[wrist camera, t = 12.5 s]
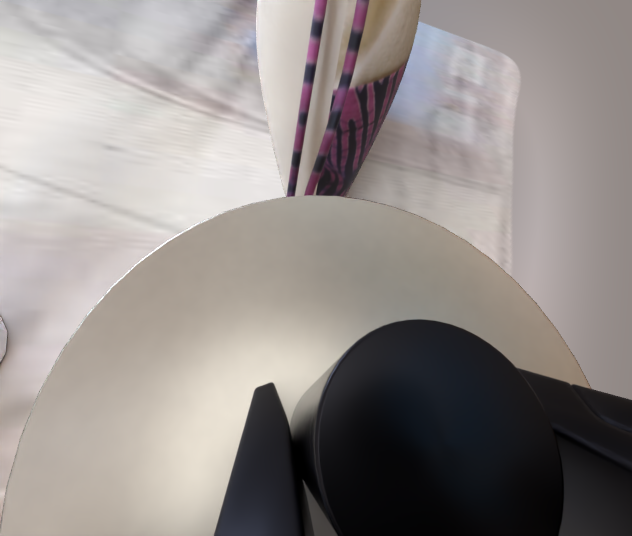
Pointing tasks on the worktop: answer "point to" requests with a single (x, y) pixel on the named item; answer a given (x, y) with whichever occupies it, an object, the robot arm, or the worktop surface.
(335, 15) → the pouch
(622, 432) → the robot arm
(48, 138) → the worktop surface
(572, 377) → the tin lid
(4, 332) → the white cup
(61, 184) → the worktop surface
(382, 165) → the worktop surface
